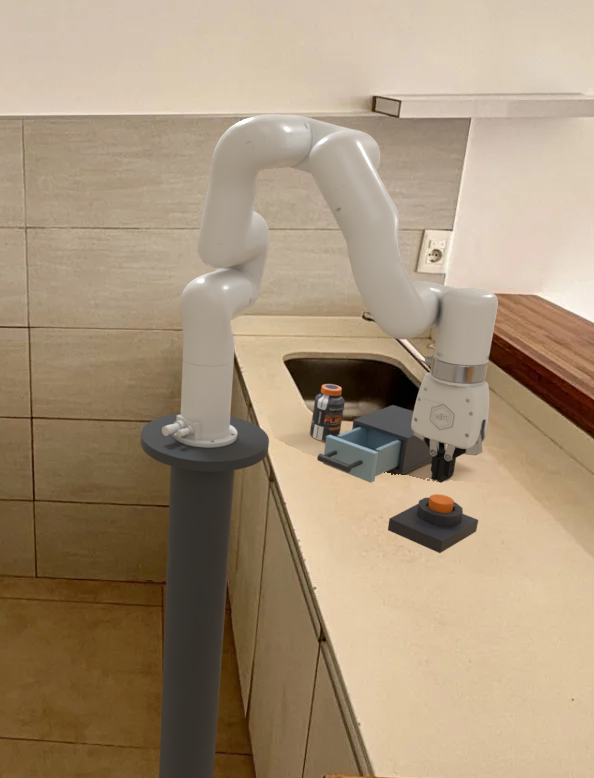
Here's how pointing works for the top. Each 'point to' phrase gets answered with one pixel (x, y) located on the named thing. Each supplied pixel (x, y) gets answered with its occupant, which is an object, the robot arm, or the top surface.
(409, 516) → the control block
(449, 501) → the button
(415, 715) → the top surface
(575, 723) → the top surface
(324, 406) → the pill bottle
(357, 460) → the blue drawer
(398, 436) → the drawer cabinet
